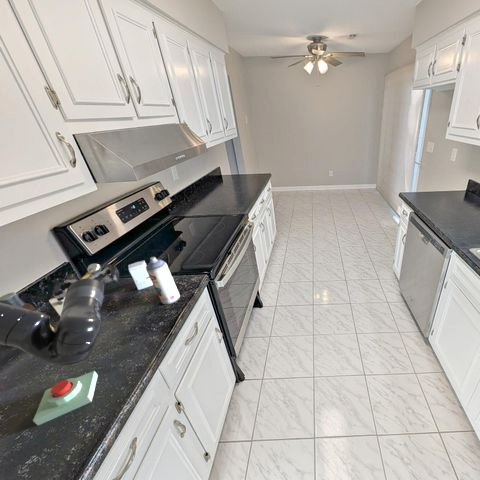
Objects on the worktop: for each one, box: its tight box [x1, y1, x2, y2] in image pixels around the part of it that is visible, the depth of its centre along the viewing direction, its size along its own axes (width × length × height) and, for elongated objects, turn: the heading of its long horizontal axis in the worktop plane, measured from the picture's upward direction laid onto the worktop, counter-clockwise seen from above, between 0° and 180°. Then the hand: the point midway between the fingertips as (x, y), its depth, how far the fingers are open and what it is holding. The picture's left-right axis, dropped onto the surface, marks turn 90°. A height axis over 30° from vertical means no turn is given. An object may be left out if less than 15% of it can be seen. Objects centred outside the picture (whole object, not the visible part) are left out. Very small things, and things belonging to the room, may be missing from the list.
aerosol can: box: [146, 256, 181, 306], centre depth 99 cm, size 7×7×20 cm
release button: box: [51, 379, 72, 397], centre depth 67 cm, size 4×4×2 cm
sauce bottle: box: [0, 292, 56, 333], centre depth 85 cm, size 7×6×20 cm
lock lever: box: [79, 263, 102, 280], centre depth 87 cm, size 17×4×4 cm
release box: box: [32, 370, 99, 426], centre depth 68 cm, size 11×9×4 cm
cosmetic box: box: [128, 260, 154, 291], centre depth 110 cm, size 6×4×12 cm
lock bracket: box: [48, 288, 68, 317], centre depth 89 cm, size 9×8×16 cm
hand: (90, 271), depth 79 cm, fingers open, 8 cm apart
